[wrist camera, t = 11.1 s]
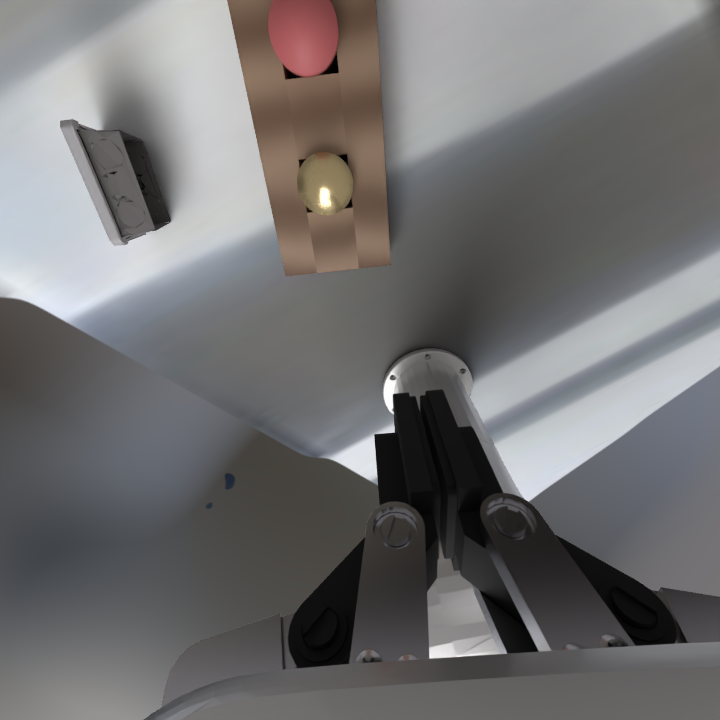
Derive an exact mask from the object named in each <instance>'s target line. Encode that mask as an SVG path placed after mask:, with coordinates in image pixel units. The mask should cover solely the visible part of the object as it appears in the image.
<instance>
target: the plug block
mask: <svg viewBox="0 0 720 720" xmlns="http://www.w3.org/2000/svg"><path fill="white" fill-rule="evenodd" d="M227 1H228V6H229V10H230V15H231V20H232V25H233V29H234V34H235V39H236V44H237V48H238V53H239V58H240V62H241V67H242V72H243V77H244V81H245V86H246V91H247V96H248V100H249V105H250V110H251V114H252V119H253V124H254V129H255V133H256V138H257V143H258V148H259V152H260V157H261V162H262V166H263V171H264V176H265V181H266V185H267V190H268V195H269V199H270V204H271V209H272V214H273V218H274V223H275V228H276V233H277V237H278V242H279V247H280V251H281V256H282V261H283V266H284V270H285V275H286V276H293V275H302V274H312V273H321V272H331V271H340V270H349V269H359V268H368V267H378V266H387V265H391V262H390V244H389V226H388V208H387V190H386V172H385V154H384V136H383V119H382V101H381V83H380V65H379V47H378V29H377V11H376V0H330V1H331V3H332V5H333V8H334V10H335V13H336V17H337V23H338V33H339V40H338V48H337V59H338V69H339V73H334V74H326V75H318V76H315V77H308V78H306V77H303V78H295V79H293V78H292V72H291V71H289V70H288V69H287V68H286V67H285V66H284V65H283V63H282V62H281V61H280V59H279V58H278V56H277V54H276V53H275V51H274V48H273V46H272V43H271V40H270V36H269V29H268V18H269V11H270V7H271V4H272V1H273V0H227ZM319 152H329V153H333V154H335V155H337V156H339V157H344V156H347V157H348V166H349V169H350V171H351V173H352V177H353V193H352V203H351V204H347V206H346V207H345V208H344V209H343V210H341V211H340V212H338V213H336V214H333V215H320V214H317V213H315V212H313V211H311V210H310V209H309V208H308V207H307V206H306V205H305V204H304V203H303V201H302V199H301V197H300V195H299V192H298V188H297V176H298V172H299V169H300V167H301V165H302V164H303V162H304V161H305V160H306V159H307V158H308V157H309V156H311V155H313V154H315V153H319Z"/></svg>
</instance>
